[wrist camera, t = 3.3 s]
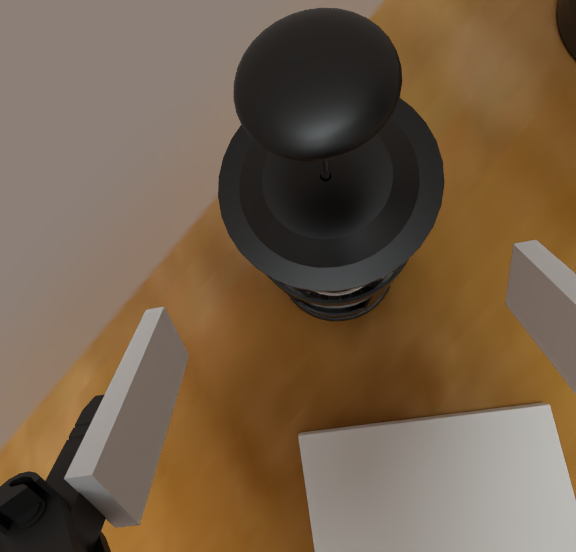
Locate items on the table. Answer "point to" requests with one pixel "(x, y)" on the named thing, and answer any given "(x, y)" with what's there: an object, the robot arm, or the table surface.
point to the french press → (328, 163)
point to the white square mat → (441, 484)
